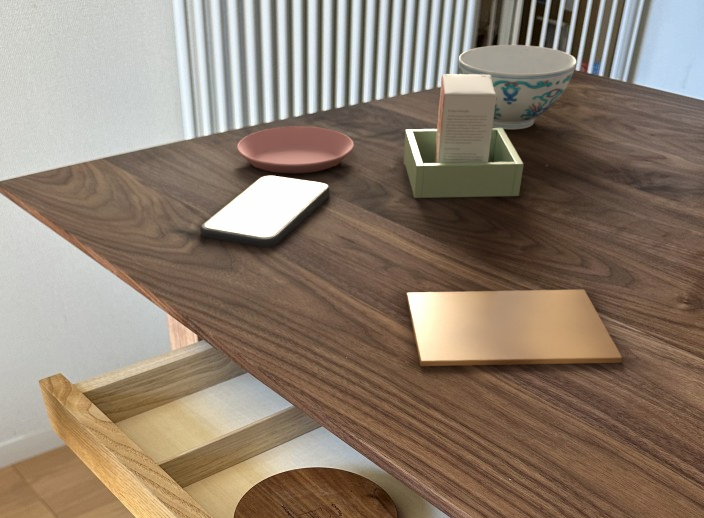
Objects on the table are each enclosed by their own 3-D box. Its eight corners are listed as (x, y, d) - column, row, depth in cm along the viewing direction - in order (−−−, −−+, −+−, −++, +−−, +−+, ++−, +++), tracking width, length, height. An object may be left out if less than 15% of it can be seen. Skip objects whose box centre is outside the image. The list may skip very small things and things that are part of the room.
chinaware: (478, 144, 109) (485, 78, 104) (437, 111, 120) (442, 49, 115) (585, 133, 111) (598, 68, 106) (535, 102, 122) (545, 41, 117)
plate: (217, 172, 103) (215, 154, 101) (270, 137, 112) (270, 120, 111) (324, 188, 98) (324, 171, 97) (370, 150, 108) (371, 134, 106)
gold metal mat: (582, 299, 77) (584, 289, 76) (619, 368, 68) (622, 357, 67) (405, 302, 77) (406, 292, 76) (420, 372, 68) (420, 361, 67)
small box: (433, 169, 102) (441, 72, 95) (480, 169, 102) (491, 73, 95) (434, 193, 96) (443, 92, 89) (484, 194, 96) (497, 93, 89)
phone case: (273, 256, 85) (334, 197, 96) (272, 241, 84) (334, 183, 95) (196, 243, 88) (263, 187, 99) (194, 227, 87) (262, 173, 98)
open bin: (498, 162, 104) (502, 127, 101) (518, 201, 94) (523, 163, 92) (403, 164, 104) (405, 129, 101) (414, 203, 95) (416, 165, 92)
